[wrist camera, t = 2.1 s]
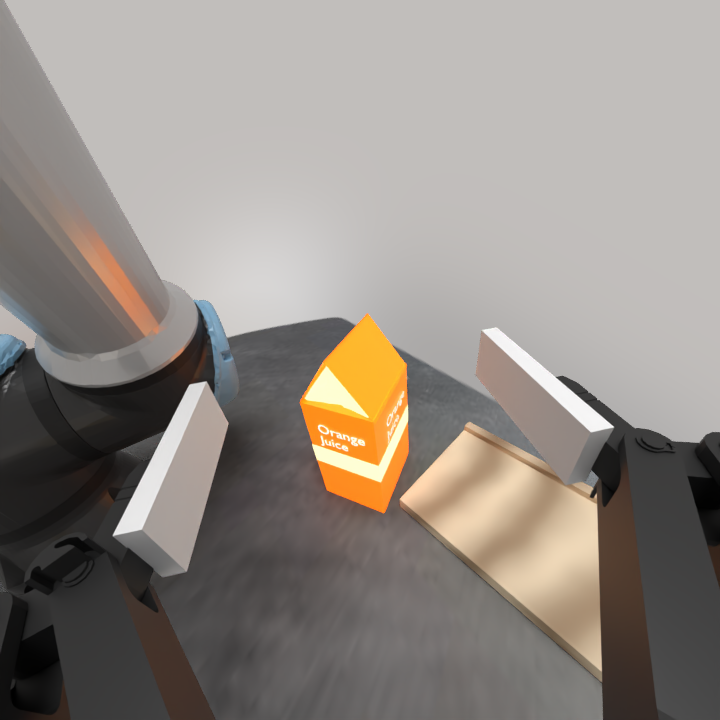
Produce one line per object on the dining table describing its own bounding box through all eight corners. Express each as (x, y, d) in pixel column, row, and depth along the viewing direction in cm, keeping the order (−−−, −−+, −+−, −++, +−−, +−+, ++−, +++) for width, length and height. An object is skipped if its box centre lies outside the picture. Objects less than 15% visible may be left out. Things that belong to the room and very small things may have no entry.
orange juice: (409, 452, 39) (406, 315, 28) (385, 514, 33) (368, 370, 21) (356, 436, 42) (334, 307, 31) (325, 490, 36) (282, 354, 25)
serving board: (400, 506, 33) (399, 495, 32) (467, 433, 41) (468, 421, 39) (622, 700, 21) (636, 694, 19) (662, 543, 28) (674, 531, 26)
